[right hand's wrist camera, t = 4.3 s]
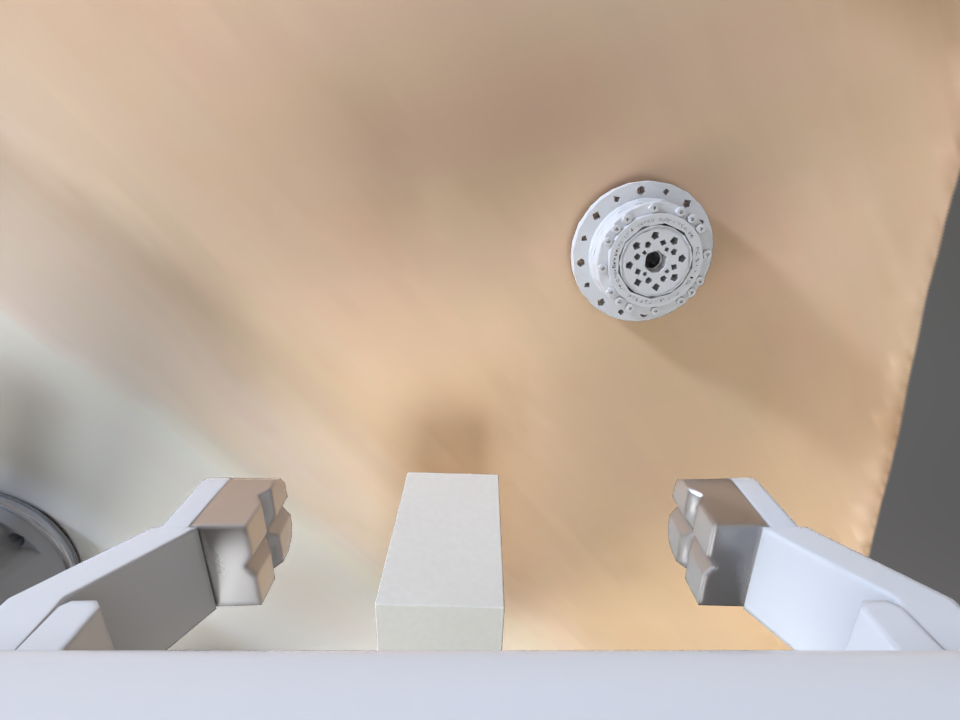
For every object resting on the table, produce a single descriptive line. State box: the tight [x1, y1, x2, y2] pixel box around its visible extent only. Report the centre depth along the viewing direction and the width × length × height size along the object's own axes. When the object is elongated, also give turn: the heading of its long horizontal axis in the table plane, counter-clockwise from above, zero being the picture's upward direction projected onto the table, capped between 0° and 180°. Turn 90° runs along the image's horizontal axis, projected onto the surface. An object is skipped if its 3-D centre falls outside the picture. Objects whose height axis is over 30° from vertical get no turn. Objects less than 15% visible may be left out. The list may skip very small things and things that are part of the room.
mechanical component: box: [571, 180, 713, 321], centre depth 36 cm, size 10×4×10 cm
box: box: [375, 472, 504, 651], centre depth 35 cm, size 24×6×12 cm, turn 178°
